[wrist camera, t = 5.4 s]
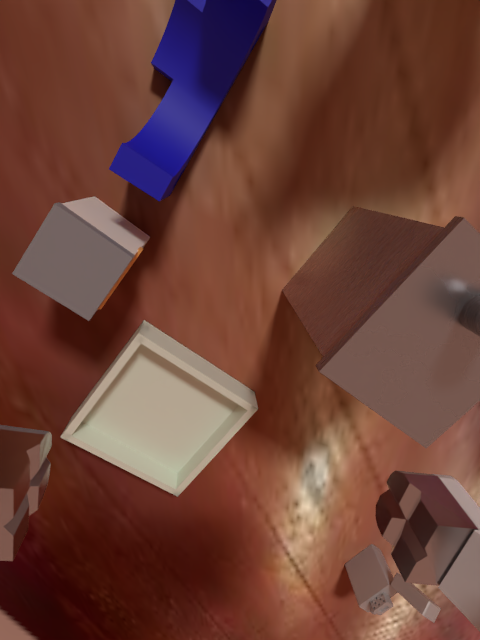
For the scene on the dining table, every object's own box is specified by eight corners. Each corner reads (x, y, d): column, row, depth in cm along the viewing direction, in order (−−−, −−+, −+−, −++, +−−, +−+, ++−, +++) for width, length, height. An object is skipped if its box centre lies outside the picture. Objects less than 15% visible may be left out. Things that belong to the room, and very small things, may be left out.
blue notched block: (204, -32, 22) (203, -102, 16) (267, 22, 23) (286, -26, 17) (110, 156, 25) (82, 151, 19) (170, 195, 26) (159, 201, 20)
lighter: (353, 571, 42) (385, 656, 35) (343, 565, 41) (373, 650, 34) (402, 534, 40) (445, 616, 33) (392, 528, 40) (434, 609, 32)
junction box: (274, 291, 29) (339, 409, 15) (353, 198, 27) (521, 228, 12) (345, 345, 31) (461, 494, 17) (422, 262, 29) (634, 352, 15)
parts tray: (71, 417, 32) (60, 437, 29) (144, 320, 29) (138, 332, 27) (179, 475, 35) (177, 496, 33) (254, 392, 32) (258, 408, 30)
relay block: (60, 249, 27) (11, 275, 20) (94, 195, 25) (54, 203, 19) (117, 288, 28) (89, 323, 21) (152, 237, 27) (134, 259, 20)
